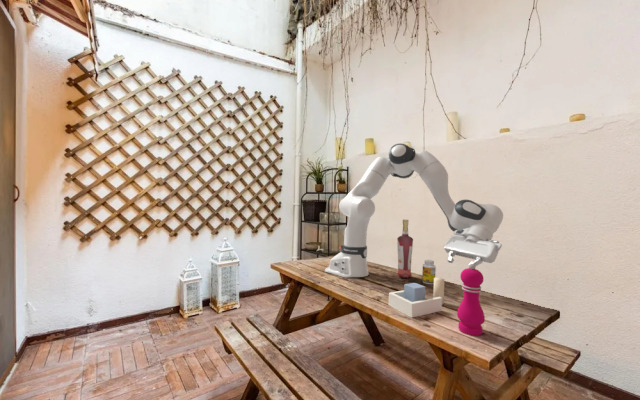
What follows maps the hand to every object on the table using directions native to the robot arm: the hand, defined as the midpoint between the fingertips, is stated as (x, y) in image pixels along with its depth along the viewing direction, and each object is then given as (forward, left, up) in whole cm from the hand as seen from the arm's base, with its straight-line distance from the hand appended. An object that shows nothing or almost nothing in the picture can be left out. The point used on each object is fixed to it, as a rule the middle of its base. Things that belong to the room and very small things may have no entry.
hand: (459, 264), depth 110 cm
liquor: (-27, +16, -14) cm, 34 cm away
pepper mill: (+7, -27, -14) cm, 31 cm away
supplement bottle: (-15, +14, -14) cm, 25 cm away
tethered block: (-9, -15, -13) cm, 22 cm away
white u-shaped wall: (-11, -20, -13) cm, 26 cm away
